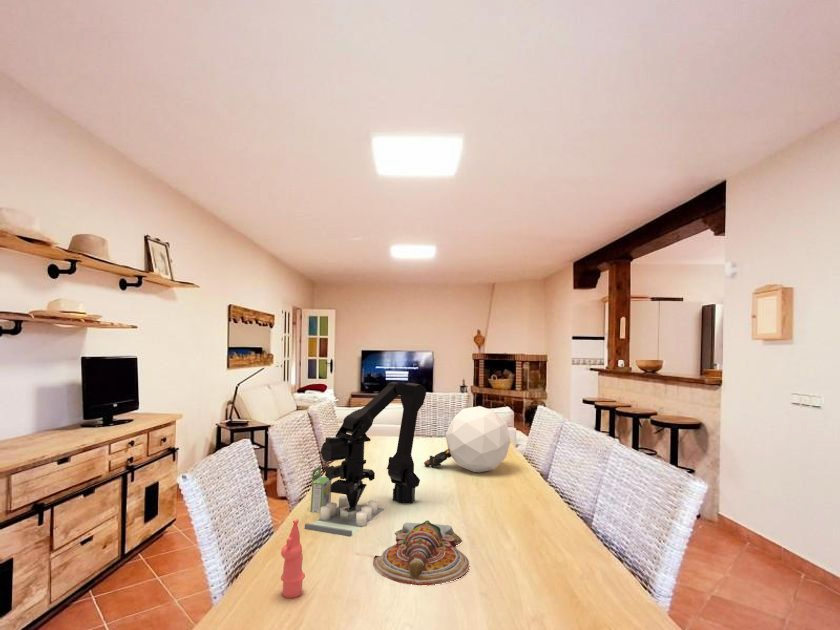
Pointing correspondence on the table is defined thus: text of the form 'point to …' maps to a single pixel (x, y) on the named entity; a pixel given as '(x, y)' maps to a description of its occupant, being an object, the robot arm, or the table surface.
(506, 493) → the table surface
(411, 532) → the decorative mask
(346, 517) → the star tealight holder
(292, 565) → the figurine
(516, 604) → the table surface
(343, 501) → the spacers
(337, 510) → the slate board
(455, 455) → the light fixture
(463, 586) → the table surface
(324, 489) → the ink box
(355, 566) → the table surface
